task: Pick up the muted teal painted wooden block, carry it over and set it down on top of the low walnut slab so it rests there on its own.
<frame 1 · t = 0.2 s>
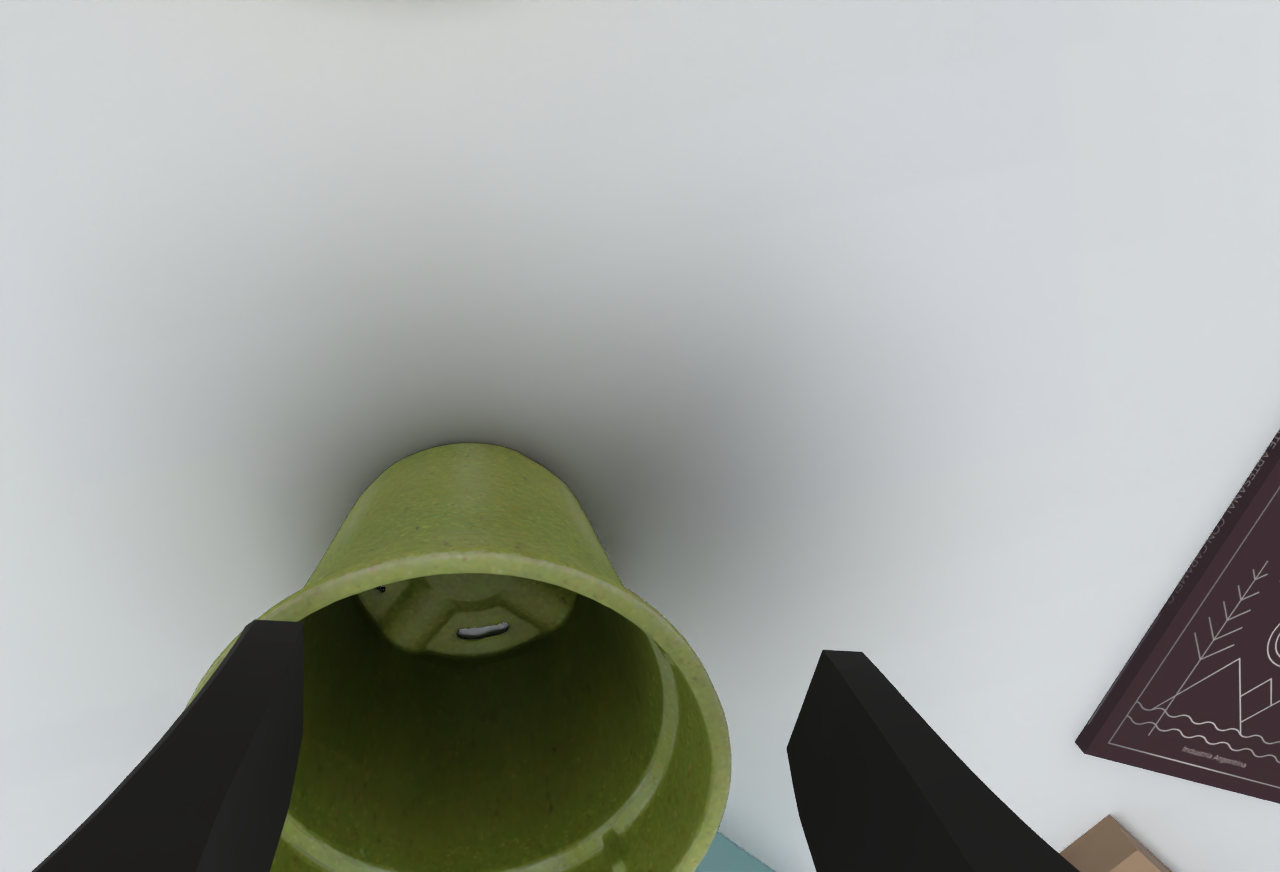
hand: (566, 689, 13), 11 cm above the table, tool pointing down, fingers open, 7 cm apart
plant pot: (472, 545, 24), on the table
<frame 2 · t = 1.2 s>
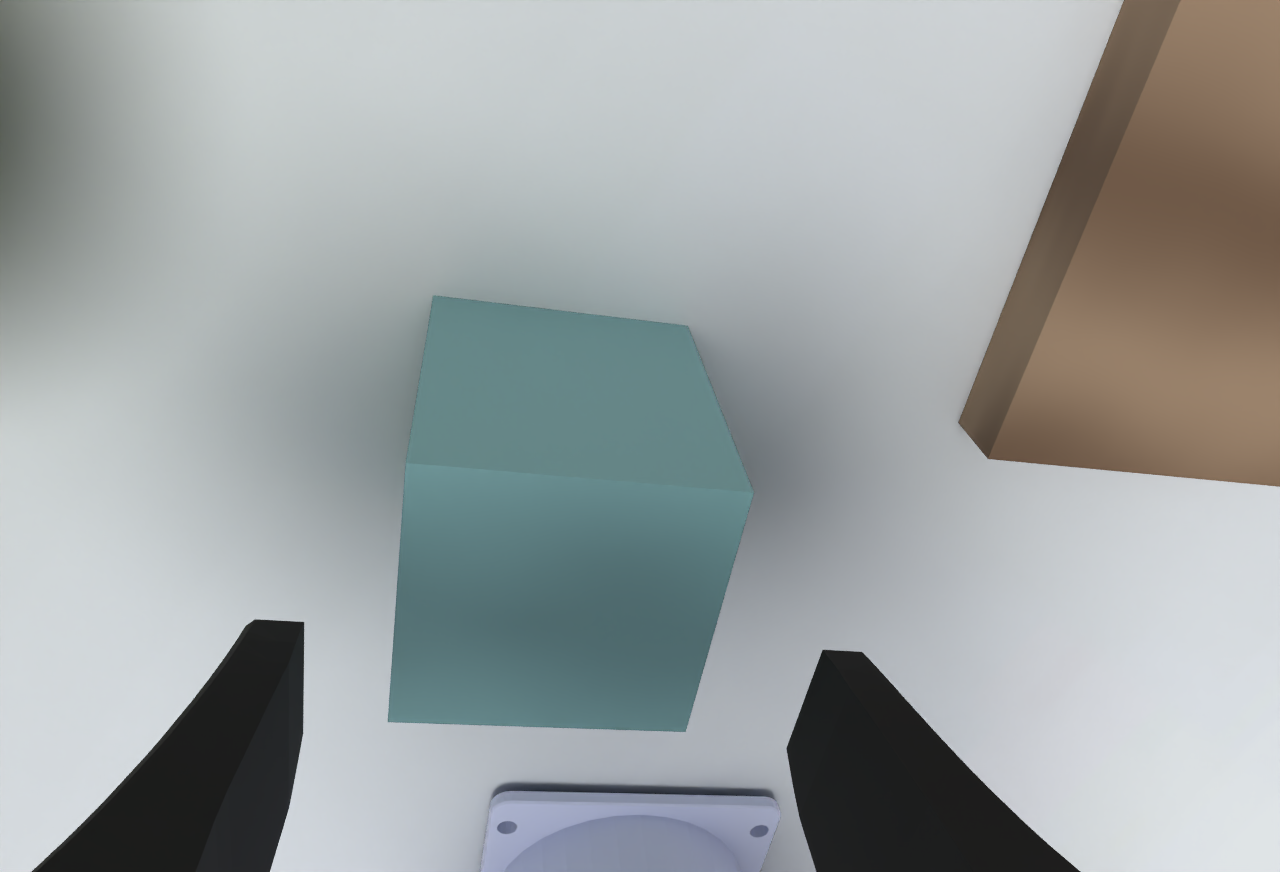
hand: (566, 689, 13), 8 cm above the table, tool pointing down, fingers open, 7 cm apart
teal block: (547, 420, 20), on the table
walnut slab: (1205, 221, 20), on the table
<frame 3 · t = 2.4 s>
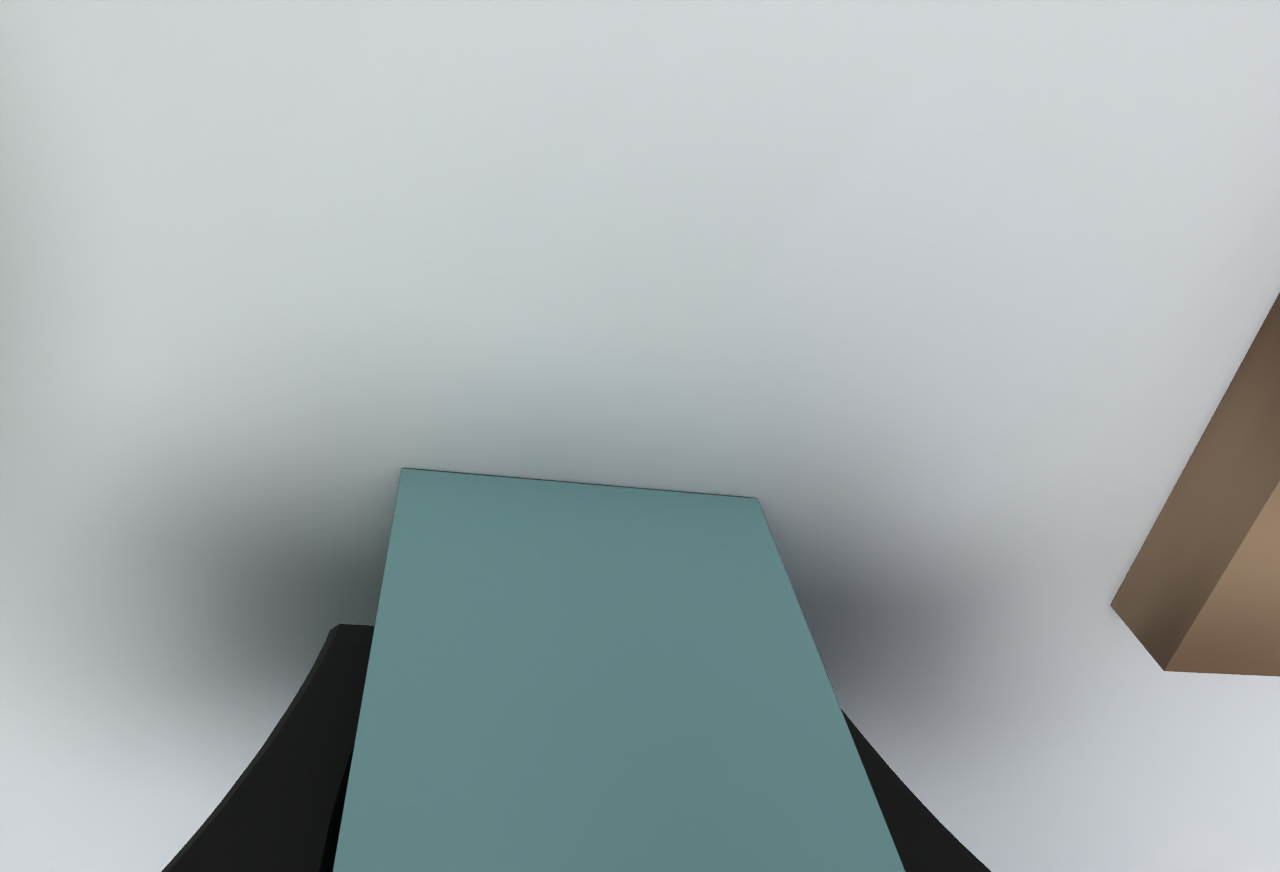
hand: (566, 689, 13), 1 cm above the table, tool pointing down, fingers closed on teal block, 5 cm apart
teal block: (561, 620, 14), on the table, touching gripper
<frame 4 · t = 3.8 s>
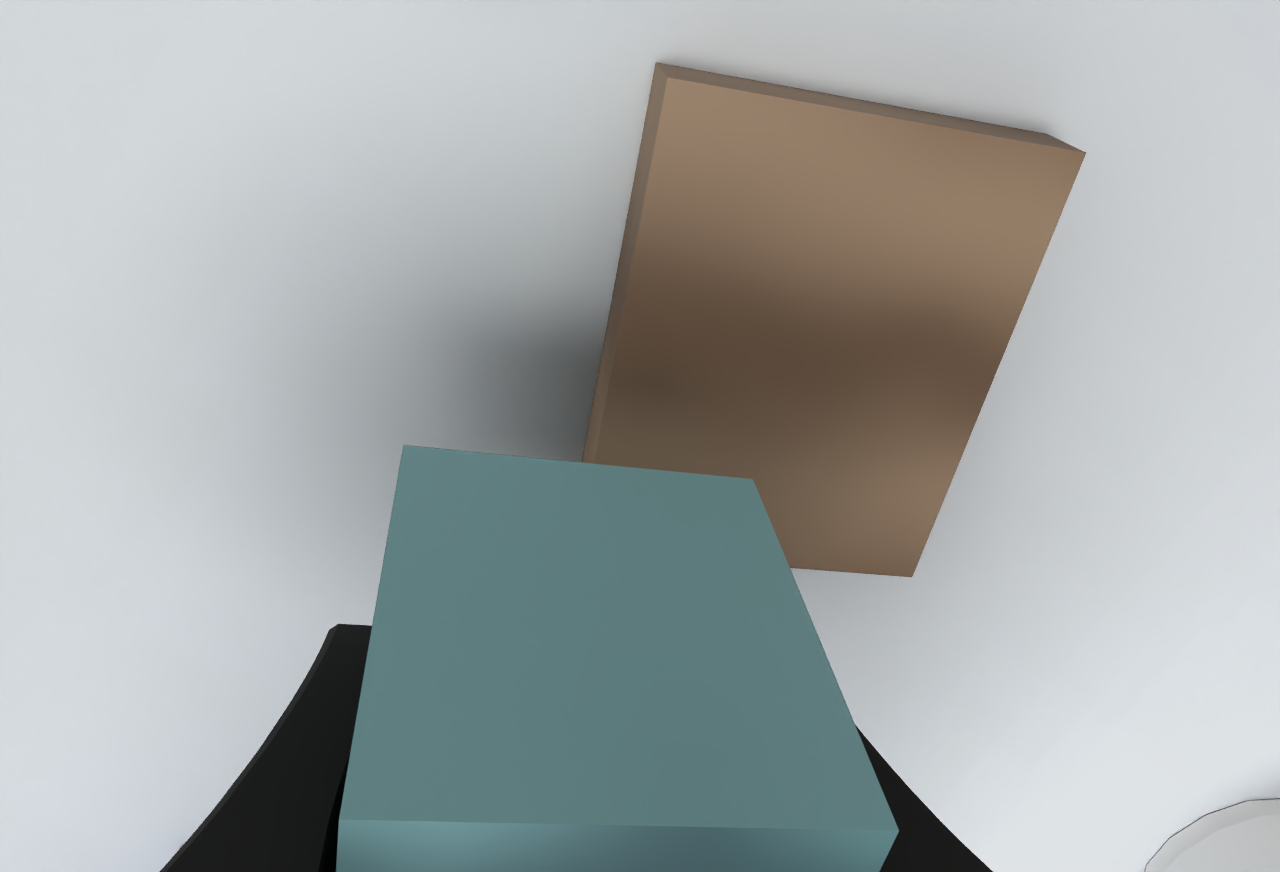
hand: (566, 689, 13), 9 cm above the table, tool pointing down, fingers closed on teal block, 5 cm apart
foam cup: (1226, 854, 33), on the table
teal block: (558, 600, 15), point 7 cm above the table, touching gripper
walnut slab: (785, 328, 21), on the table
when the fingers open (5 cm above the table, at t = 5.3 s): teal block drops 2 cm, point 1 cm above the table.
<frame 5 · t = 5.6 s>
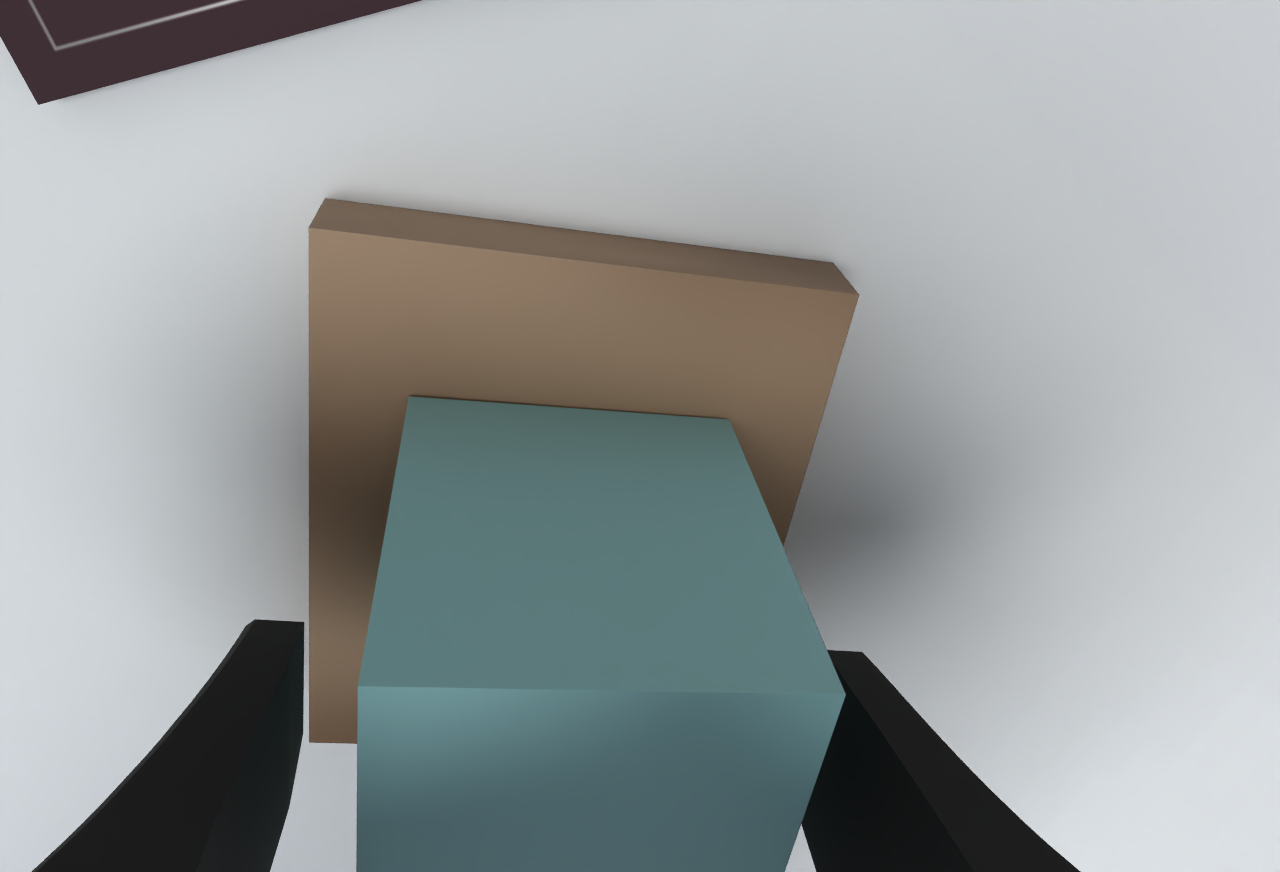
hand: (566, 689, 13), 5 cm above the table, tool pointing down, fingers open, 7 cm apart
teal block: (556, 538, 16), point 1 cm above the table
walnut slab: (550, 477, 18), on the table
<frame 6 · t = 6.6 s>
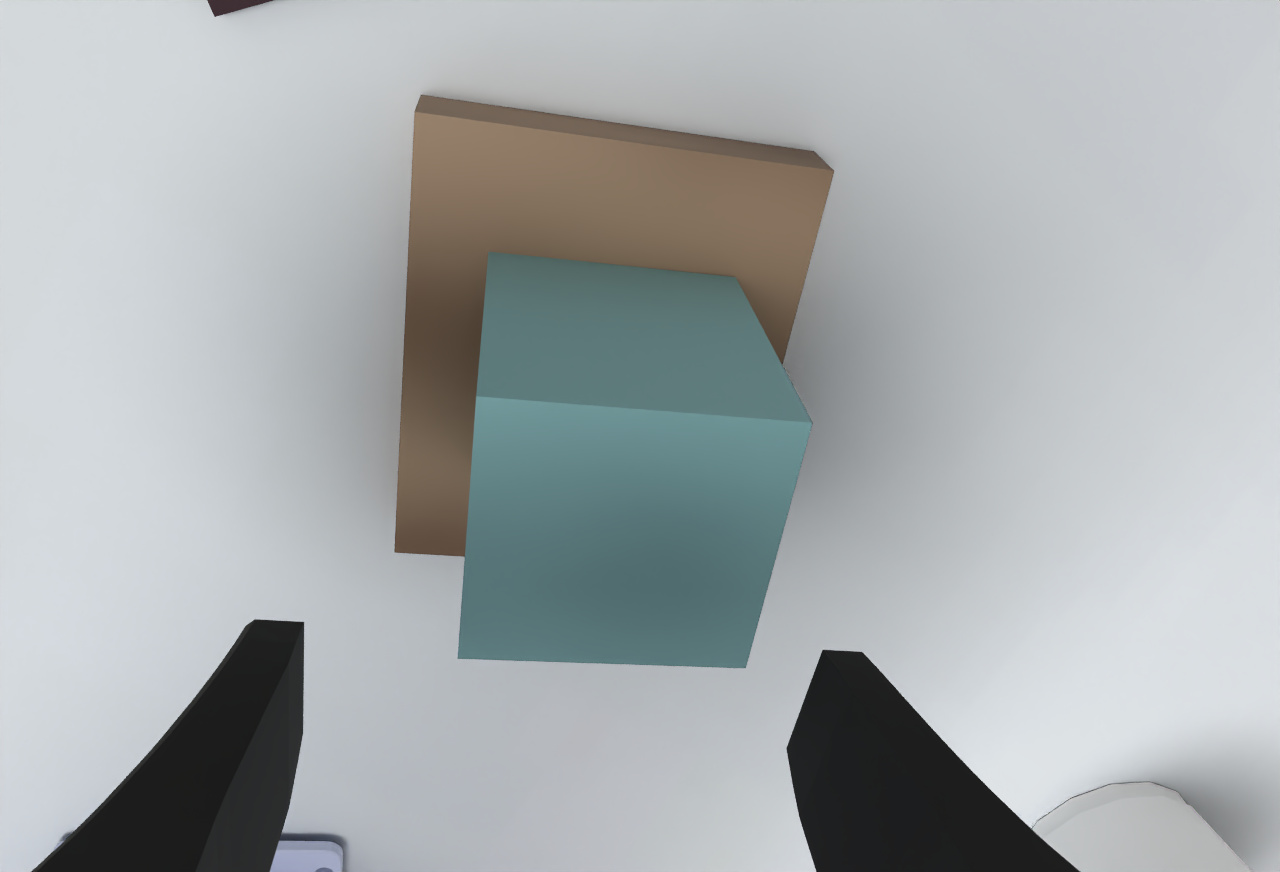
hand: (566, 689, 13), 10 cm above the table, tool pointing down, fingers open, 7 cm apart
foam cup: (1099, 836, 34), on the table
teal block: (599, 375, 20), point 1 cm above the table, touching walnut slab
walnut slab: (588, 337, 22), on the table, touching teal block
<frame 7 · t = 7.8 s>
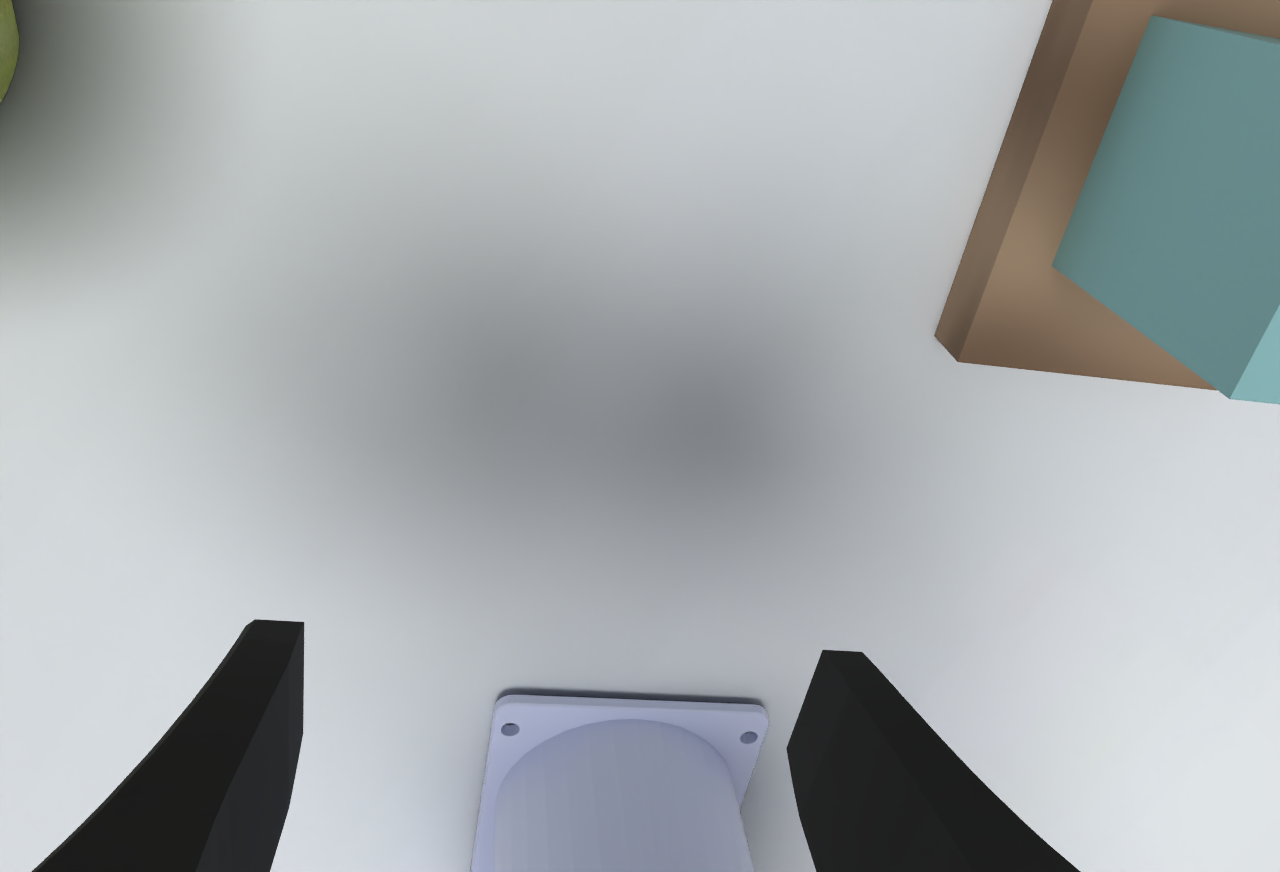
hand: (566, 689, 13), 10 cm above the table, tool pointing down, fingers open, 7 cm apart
teal block: (1206, 165, 20), point 1 cm above the table, touching walnut slab
walnut slab: (1159, 140, 21), on the table, touching teal block
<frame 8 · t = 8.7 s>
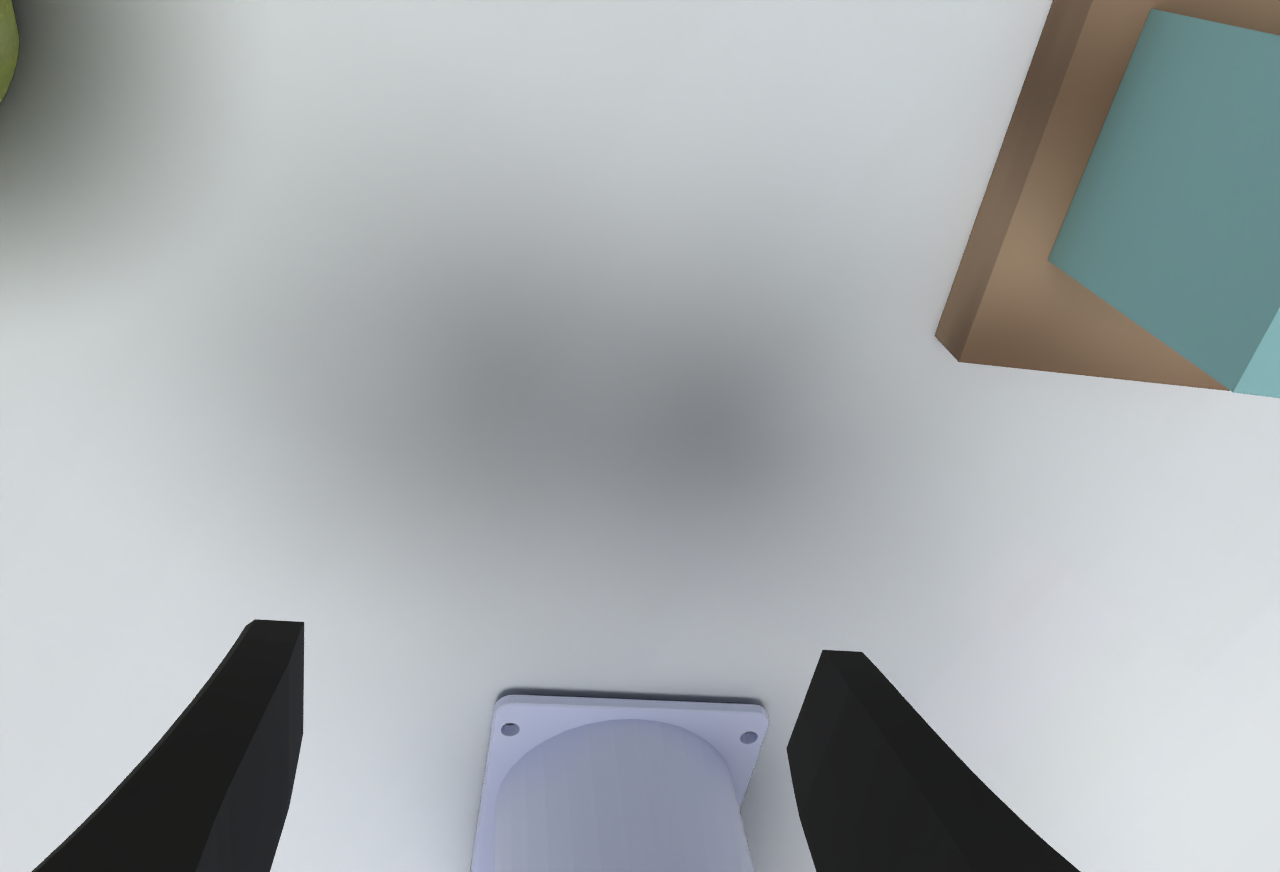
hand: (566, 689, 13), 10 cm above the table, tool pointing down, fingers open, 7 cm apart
teal block: (1203, 161, 20), point 1 cm above the table, touching walnut slab
walnut slab: (1159, 140, 21), on the table, touching teal block
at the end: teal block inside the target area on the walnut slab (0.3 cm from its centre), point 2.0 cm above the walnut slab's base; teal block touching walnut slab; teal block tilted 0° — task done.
